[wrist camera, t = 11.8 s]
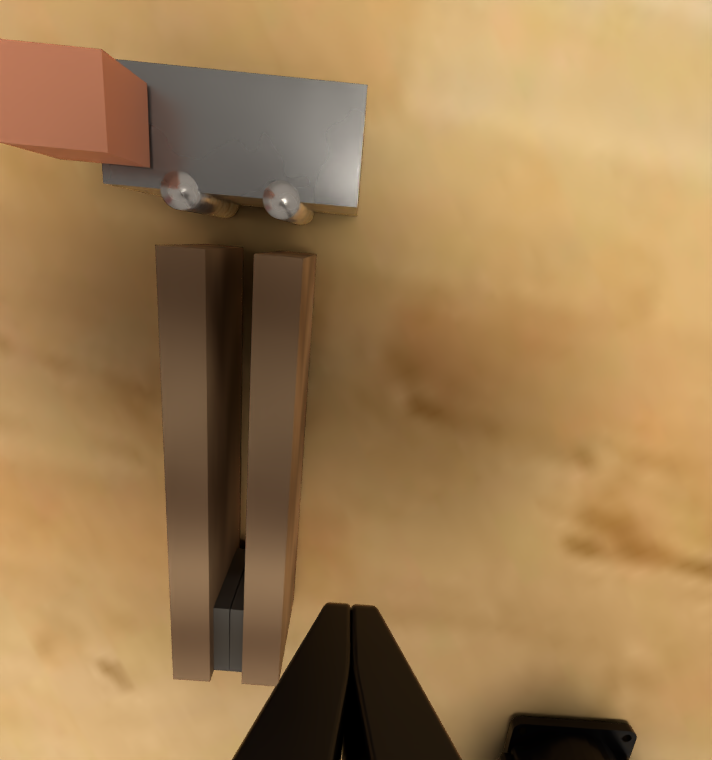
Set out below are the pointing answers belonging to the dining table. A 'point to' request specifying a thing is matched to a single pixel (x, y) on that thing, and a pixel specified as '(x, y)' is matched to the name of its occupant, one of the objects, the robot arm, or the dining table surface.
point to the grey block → (248, 142)
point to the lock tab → (72, 104)
